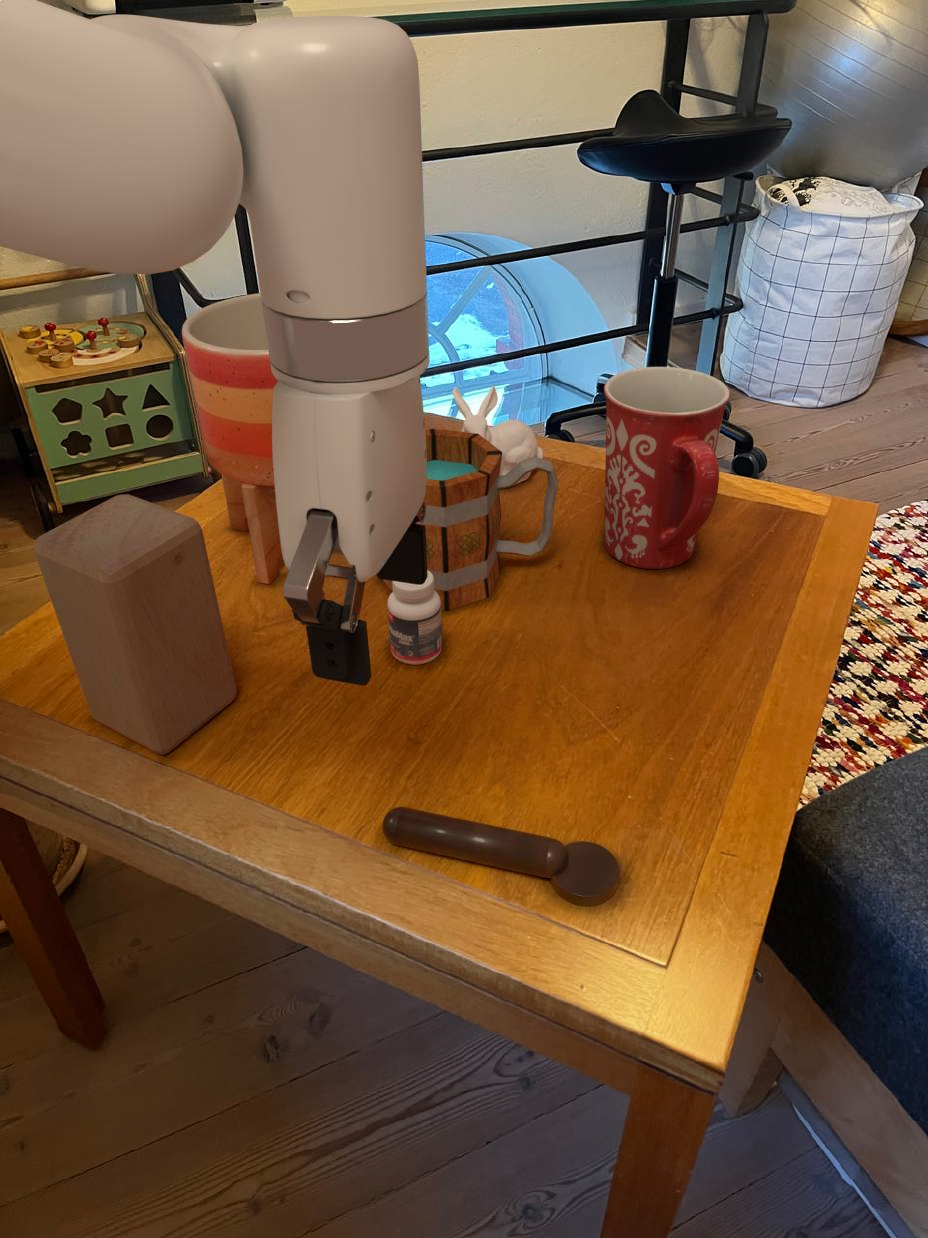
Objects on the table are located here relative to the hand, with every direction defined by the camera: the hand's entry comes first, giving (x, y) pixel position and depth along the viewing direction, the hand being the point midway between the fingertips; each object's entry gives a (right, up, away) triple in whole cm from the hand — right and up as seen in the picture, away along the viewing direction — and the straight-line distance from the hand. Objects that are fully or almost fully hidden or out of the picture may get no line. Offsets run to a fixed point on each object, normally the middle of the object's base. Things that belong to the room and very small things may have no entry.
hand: (374, 625), depth 53 cm
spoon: (+8, -19, +19) cm, 28 cm away
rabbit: (+9, +19, +70) cm, 73 cm away
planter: (-14, +10, +58) cm, 60 cm away
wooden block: (-23, -8, +33) cm, 41 cm away
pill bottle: (0, -3, +40) cm, 40 cm away
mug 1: (+6, +5, +51) cm, 52 cm away
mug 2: (+27, +7, +54) cm, 61 cm away
